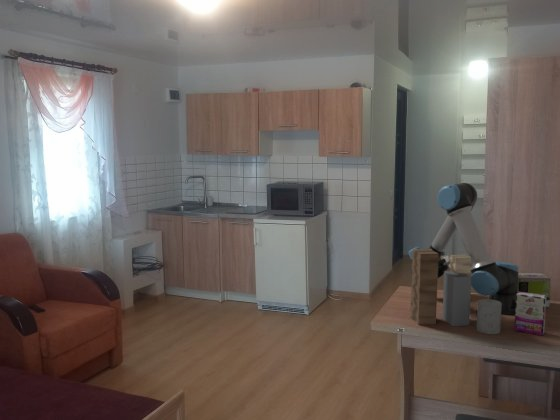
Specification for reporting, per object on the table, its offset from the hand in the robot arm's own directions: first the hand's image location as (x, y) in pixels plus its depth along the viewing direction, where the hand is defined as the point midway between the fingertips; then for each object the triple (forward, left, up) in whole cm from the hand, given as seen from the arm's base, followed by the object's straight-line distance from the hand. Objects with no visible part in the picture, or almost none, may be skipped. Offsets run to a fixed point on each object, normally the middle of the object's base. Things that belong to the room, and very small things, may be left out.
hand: (453, 258), depth 233 cm
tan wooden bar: (0, 0, -4) cm, 4 cm away
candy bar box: (-33, +5, -28) cm, 43 cm away
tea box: (-34, -35, -28) cm, 56 cm away
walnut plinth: (+11, +9, -28) cm, 31 cm away
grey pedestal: (-3, +5, -28) cm, 28 cm away
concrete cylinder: (-17, +10, -28) cm, 34 cm away
